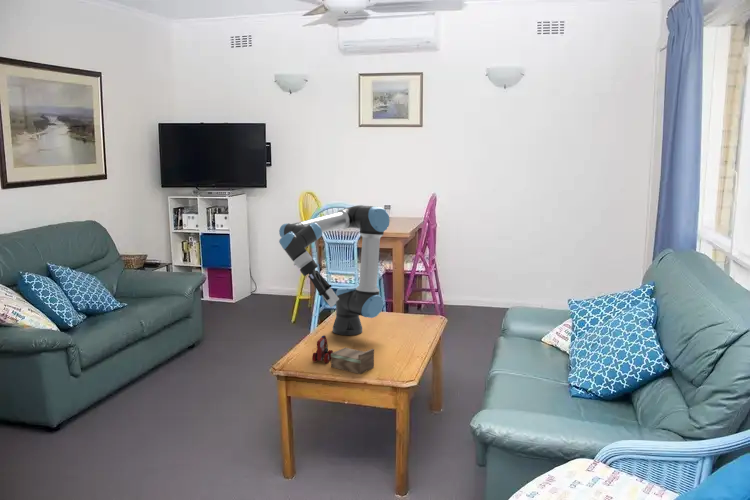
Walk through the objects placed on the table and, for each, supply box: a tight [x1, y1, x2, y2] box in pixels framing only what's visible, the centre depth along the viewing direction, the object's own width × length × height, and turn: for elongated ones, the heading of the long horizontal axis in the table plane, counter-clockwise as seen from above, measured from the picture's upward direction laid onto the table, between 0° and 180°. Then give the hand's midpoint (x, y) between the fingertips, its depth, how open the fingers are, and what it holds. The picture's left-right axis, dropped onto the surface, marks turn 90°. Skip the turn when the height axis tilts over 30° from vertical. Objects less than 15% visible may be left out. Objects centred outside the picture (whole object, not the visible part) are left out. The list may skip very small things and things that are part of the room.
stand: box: [330, 347, 375, 375], centre depth 262 cm, size 15×10×8 cm
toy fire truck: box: [311, 335, 334, 364], centre depth 271 cm, size 7×12×10 cm, turn 168°
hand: (335, 303), depth 270 cm, fingers open, 13 cm apart
